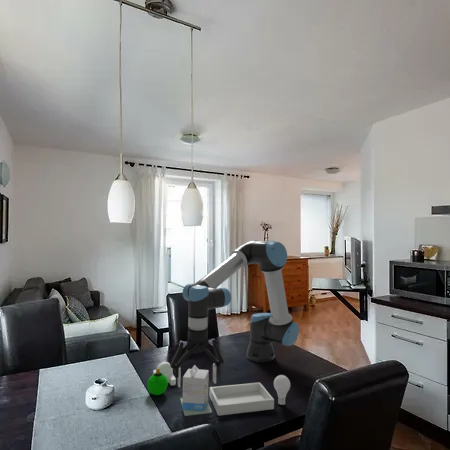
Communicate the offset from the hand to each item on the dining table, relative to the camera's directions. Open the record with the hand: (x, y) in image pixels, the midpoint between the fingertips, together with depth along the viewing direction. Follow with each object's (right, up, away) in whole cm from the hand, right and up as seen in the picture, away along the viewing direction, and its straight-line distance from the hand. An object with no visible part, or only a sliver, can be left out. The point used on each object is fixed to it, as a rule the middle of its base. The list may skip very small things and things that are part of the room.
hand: (196, 383), depth 124 cm
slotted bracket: (-16, -9, +21) cm, 28 cm away
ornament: (-17, -8, +8) cm, 20 cm away
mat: (0, -8, -1) cm, 8 cm away
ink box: (-1, -8, 0) cm, 8 cm away
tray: (+17, -9, +3) cm, 19 cm away
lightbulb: (+32, -9, +2) cm, 34 cm away
